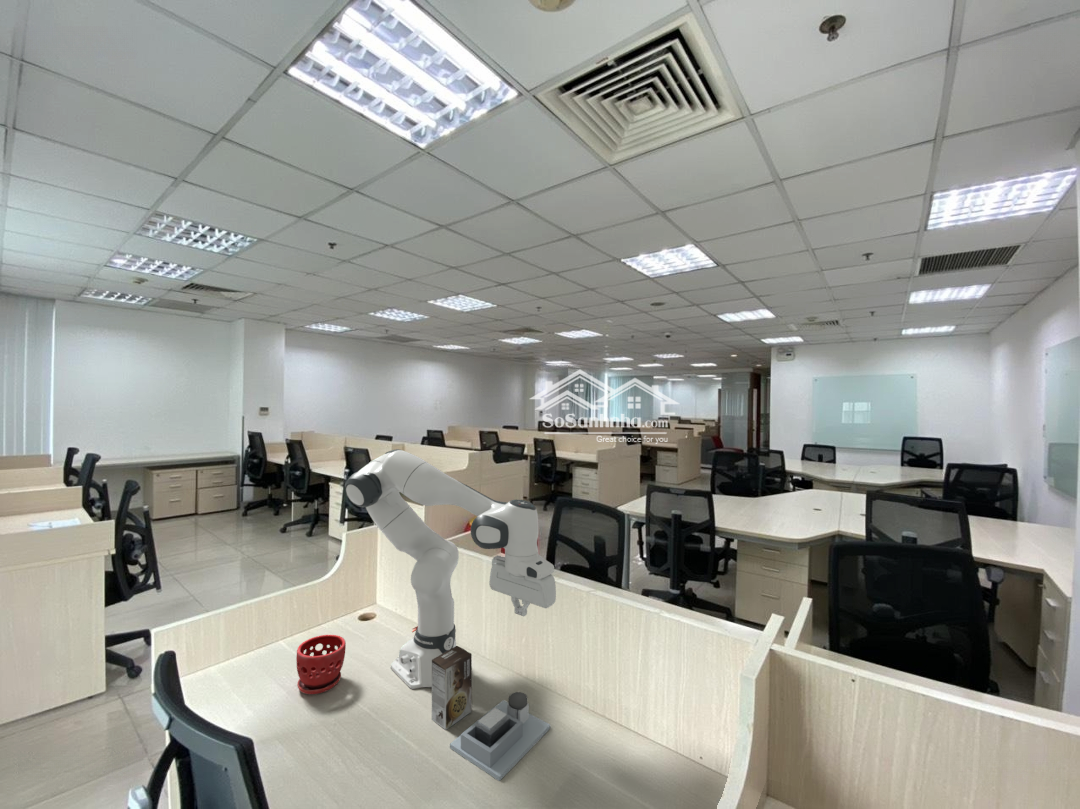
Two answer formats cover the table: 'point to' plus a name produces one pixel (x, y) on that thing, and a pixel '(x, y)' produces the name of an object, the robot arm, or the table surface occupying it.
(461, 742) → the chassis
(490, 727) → the grey rectangular block
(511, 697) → the dark grey round knob
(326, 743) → the table surface
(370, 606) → the table surface
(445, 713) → the coffee box
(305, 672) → the plant pot
